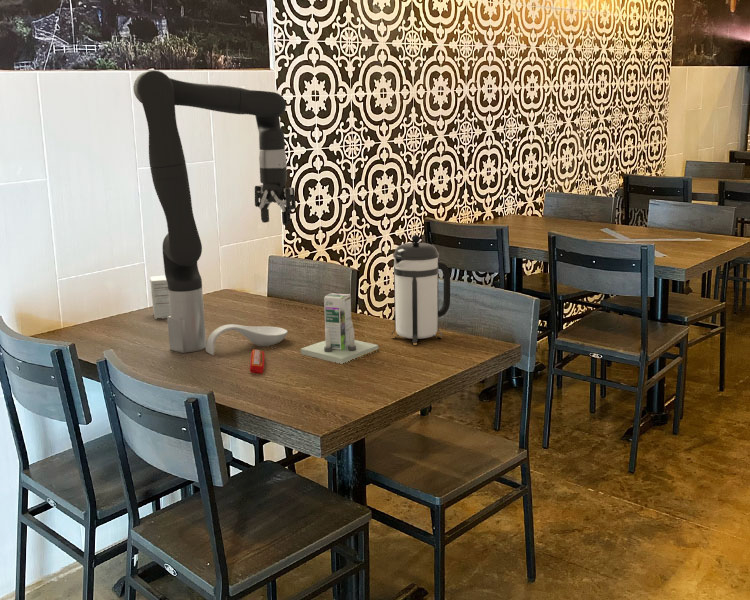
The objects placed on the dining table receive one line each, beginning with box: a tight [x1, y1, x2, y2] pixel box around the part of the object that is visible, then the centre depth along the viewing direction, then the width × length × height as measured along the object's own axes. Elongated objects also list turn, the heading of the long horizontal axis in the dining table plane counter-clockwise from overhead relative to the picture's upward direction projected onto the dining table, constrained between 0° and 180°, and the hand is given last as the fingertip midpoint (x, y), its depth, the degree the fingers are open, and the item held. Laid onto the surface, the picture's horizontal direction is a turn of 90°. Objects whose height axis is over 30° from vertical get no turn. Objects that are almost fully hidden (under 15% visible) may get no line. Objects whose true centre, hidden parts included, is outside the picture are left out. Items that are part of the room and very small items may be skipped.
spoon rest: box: [205, 323, 289, 356], centre depth 231 cm, size 24×12×7 cm, turn 123°
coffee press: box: [390, 234, 451, 344], centre depth 233 cm, size 17×16×30 cm
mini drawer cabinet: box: [149, 274, 170, 320], centre depth 266 cm, size 7×7×13 cm
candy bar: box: [249, 349, 266, 375], centre depth 215 cm, size 16×4×3 cm, turn 7°
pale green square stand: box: [300, 321, 380, 365], centre depth 224 cm, size 15×15×8 cm
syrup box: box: [323, 292, 352, 350], centre depth 223 cm, size 6×6×14 cm
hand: (275, 223), depth 234 cm, fingers open, 8 cm apart
